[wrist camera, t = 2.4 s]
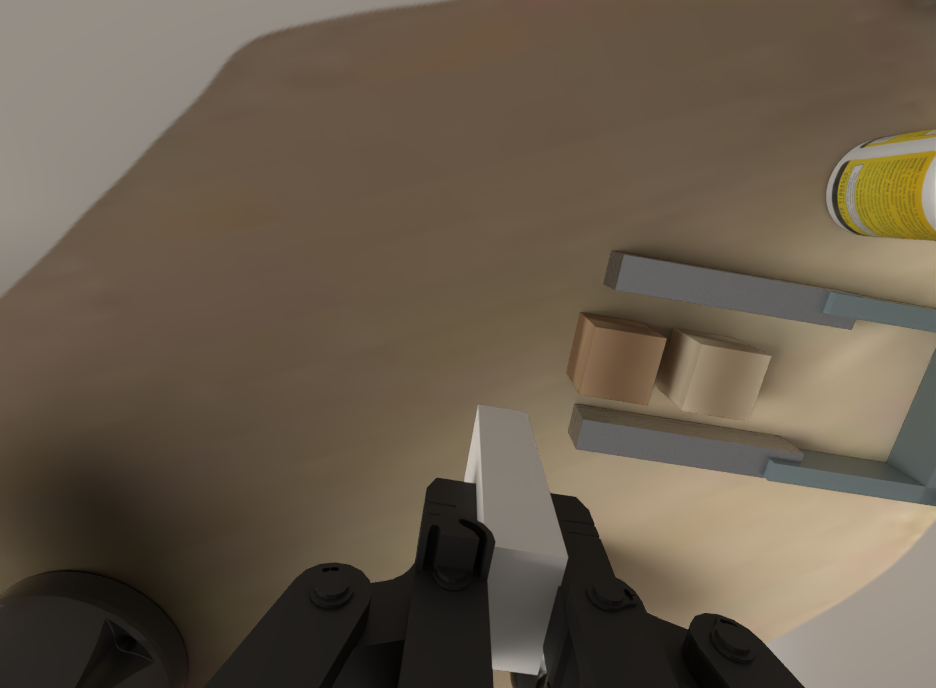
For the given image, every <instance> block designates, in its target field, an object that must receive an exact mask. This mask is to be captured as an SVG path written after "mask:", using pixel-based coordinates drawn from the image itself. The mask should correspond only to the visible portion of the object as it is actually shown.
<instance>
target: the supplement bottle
mask: <svg viewBox="0 0 936 688" xmlns="http://www.w3.org/2000/svg"><path fill="white" fill-rule="evenodd" d="M826 201H827V207H828V210H829V213H830V215H831V217H832V219H833V220H834V221H835V222H836V223H837V224H838V225H839V226H840V227H841V228H843V229H844V230H846V231H848V232H850V233H853V234H857V235H863V236H873V237H888V238H901V239H918V240H934V241H936V129H930V130H924V131H918V132H912V133H906V134H900V135H894V136H888V137H882V138H878V139H874V140H870V141H867V142H864V143H862V144H860V145H858V146H857V147H855V148H854V149H852V150H851V151H849V152H848V153H847V154H846V155H845V156H844V157H843V158H842V159H841V160H840V162H839V163H838V164H837V166H836V167H835V169H834V171H833V172H832V175H831V177H830V179H829V182H828V186H827V192H826Z"/></svg>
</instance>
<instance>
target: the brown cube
mask: <svg viewBox="0 0 936 688" xmlns="http://www.w3.org/2000/svg"><path fill="white" fill-rule="evenodd" d="M666 340H667V338H665V337H664V336H662V335H661V334H659V333H657V332H656V331H654V330H653V329H651V328H650V327H648V326H647V325H645V324H644V323H641V322H635V321H629V320H623V319H617V318H611V317H605V316H599V315H593V314H587V313H581V312H580V315H579V320H578V324H577V328H576V332H575V337H574V341H573V345H572V350H571V354H570V358H569V363H568V367H567V371H566V373H567V375H568V376H569V378H570V380H571V381H572V383H573V385H574V386H575V388H576V390H577V391H578V393H579V394H580V395H585V396H591V397H598V398H604V399H610V400H617V401H623V402H629V403H636V404H642V405H648V403H649V400H650V396H651V393H652V389H653V386H654V382H655V379H656V375H657V372H658V368H659V365H660V361H661V357H662V354H663V350H664V347H665V343H666Z"/></svg>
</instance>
